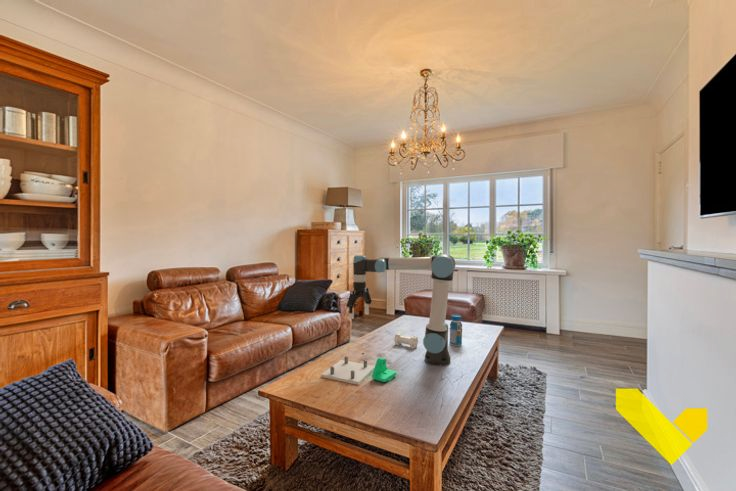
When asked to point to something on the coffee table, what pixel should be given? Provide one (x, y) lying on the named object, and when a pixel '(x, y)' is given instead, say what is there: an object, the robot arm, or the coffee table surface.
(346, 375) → the stub plate
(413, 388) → the coffee table surface
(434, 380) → the coffee table surface
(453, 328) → the beverage bottle
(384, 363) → the camera mount
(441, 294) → the robot arm
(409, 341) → the dog bone
